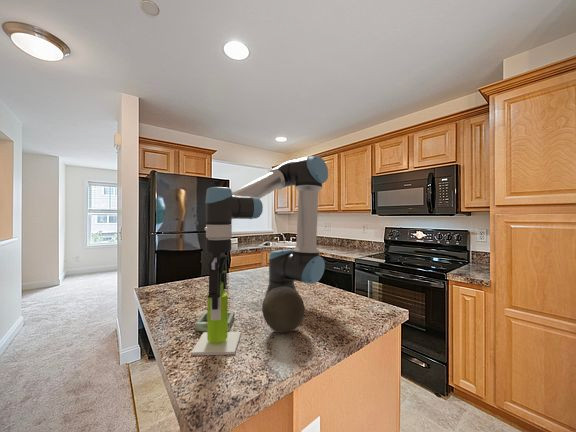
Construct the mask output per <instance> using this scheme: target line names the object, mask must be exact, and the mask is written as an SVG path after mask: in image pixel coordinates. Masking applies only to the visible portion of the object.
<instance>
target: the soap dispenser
mask: <svg viewBox="0 0 576 432" xmlns="http://www.w3.org/2000/svg"><path fill="white" fill-rule="evenodd" d="M225 272H228V270H227V271H223V273H225ZM208 295H209V293H208V294H207V295H206V296H207V297H206V298H207V303H206V304H207V305H206V306H207V307H206V308H207V310H206V312H207V320H206V322H207V331H206V332H207V340H208V341H209V342H212V343H217V342H222V341H224V340H226V339H227V337H228V332H229V331H228V312H229V311H228V305H229V304H228V301H229V299H228V298H229V297H228V292H226V291H225V292H223V282H222V281H221V285H220V297H221V319H220V320H211V298H208Z"/></svg>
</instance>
